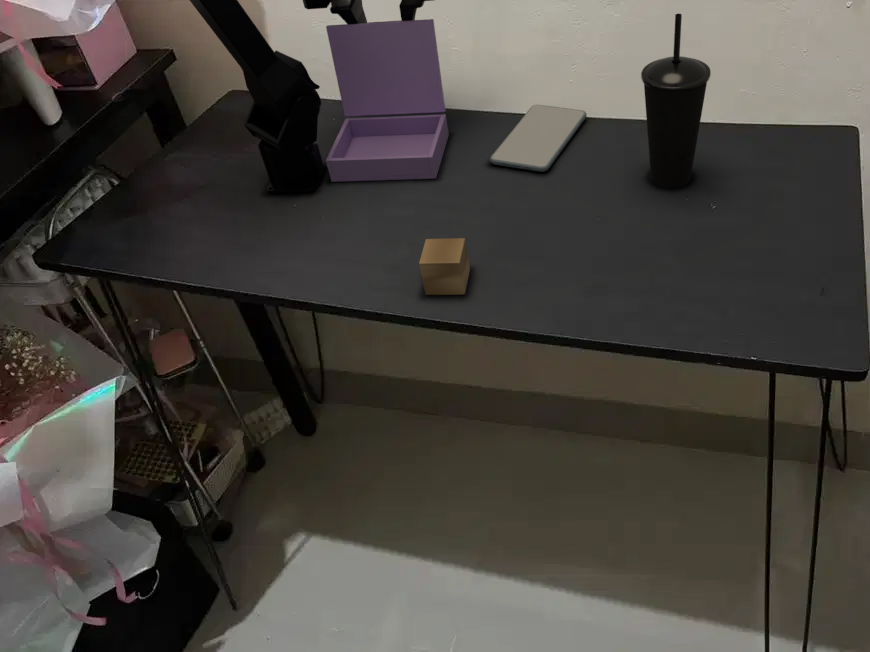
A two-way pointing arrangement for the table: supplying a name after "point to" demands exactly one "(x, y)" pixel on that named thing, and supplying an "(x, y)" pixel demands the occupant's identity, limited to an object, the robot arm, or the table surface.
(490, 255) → the table surface
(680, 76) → the drinking cup
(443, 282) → the block
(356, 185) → the table surface
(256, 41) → the robot arm
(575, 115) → the smartphone
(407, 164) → the purple box
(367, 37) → the purple hinged lid
